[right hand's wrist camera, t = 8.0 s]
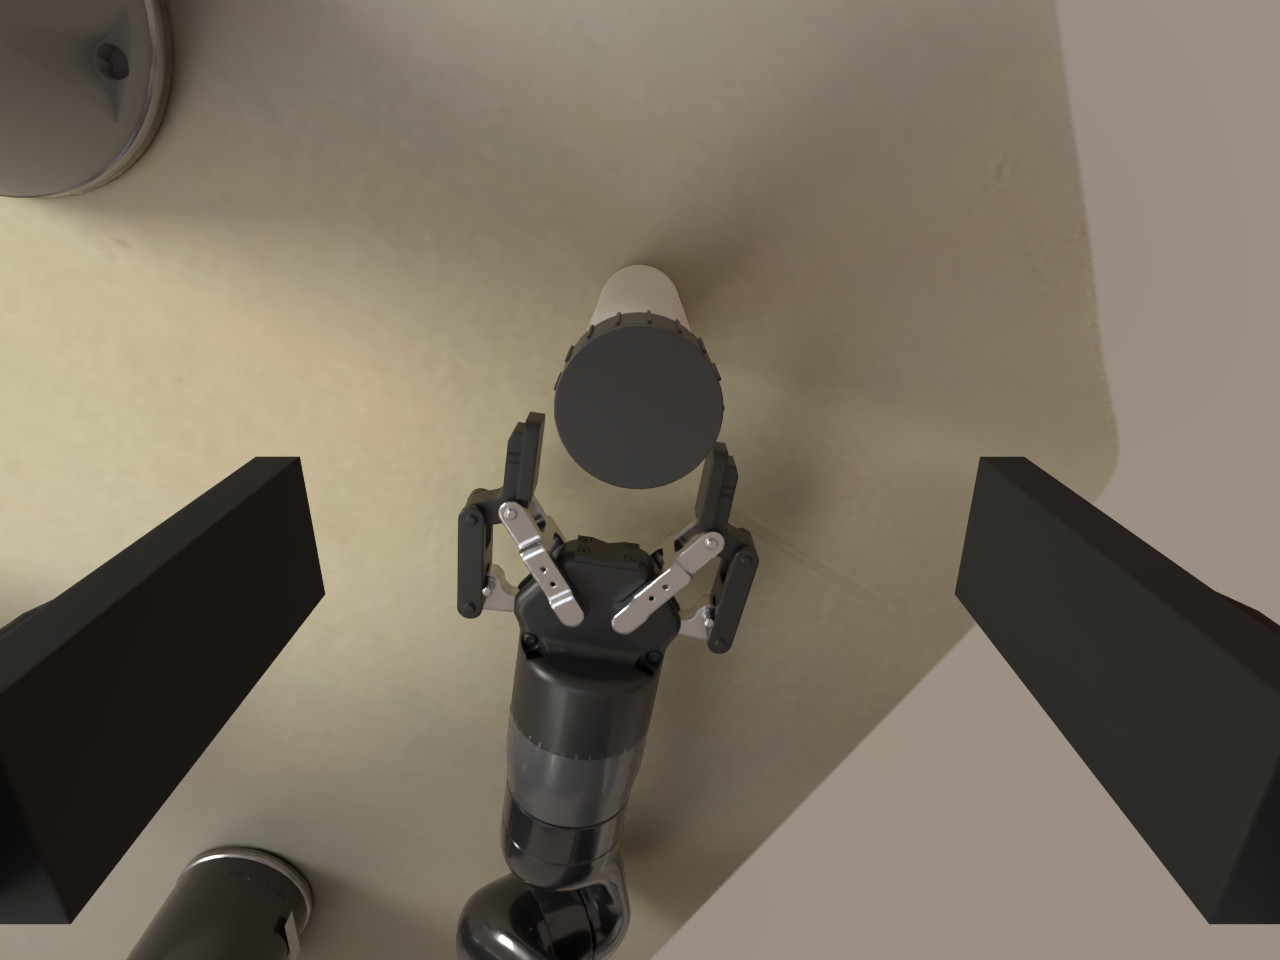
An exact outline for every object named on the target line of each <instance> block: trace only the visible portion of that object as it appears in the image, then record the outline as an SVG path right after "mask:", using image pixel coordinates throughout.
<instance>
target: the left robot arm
mask: <svg viewBox="0 0 1280 960" xmlns="http://www.w3.org/2000/svg"><path fill="white" fill-rule="evenodd" d="M544 424H545V414H543V413H536V412H530V413H529V416H528V418H527V420H526V423H522V422H518V424H517V425H516V427H515V429H514V431H513V432H512V434H511V436H510V438H509V440H508V447H507V457H506V466H505V476H504V486H503V487H501V488H499V489H495V490H489V491H488V490H486V489H483V488H479V489H475V490H474V491H472V493H471V494H470V496H469V498H468V502H467V504H466V505H465V507H464V508H463V509H462V511H461V513H460V514H459V518H458V593H457V609H458V612H459V613H460V614H461V615H462V616H463V617H465V618H470V619H472V618H476V617H478V616H479V615H480V614H481V612H482V609H487V610H498V611H509V612H514V614H515V616H516V618H517V620H518V622H519V626H520V637H519V645H518V653H517V661H516V670H515V678H514V686H513V694H512V702H511V706H510V719H509V727H508V735H507V765H508V771H507V782H506V790H505V798H504V806H503V812H502V821H501V848H502V852H503V856H504V859H505V861H506V863H507V865H508V867H509V868H510V870H511V871H512V873H510V874H508V875H505V876H503V877H501V878H499V879H497V880H495V881H493V882H491V883H489V884H487V885H485V886H483V887H482V888H481V889H479V890H478V891H476V892H475V893H474V894H473V895H472V896H471V897H470V898H469V899H468V901H467V902H466V904H465V906H464V908H463V910H462V912H461V914H460V918H459V921H458V925H457V934H456V949H457V955H458V960H607V959H608V958H609V957H610V956H611V955H612V954H613V953H614V952H615V951H616V950H617V948H618V947H619V945H620V944H621V942H622V940H623V938H624V936H625V934H626V932H627V929H628V926H629V922H630V903H629V897H628V892H627V886H626V881H625V873H624V862H623V853H622V845H621V833H622V829H623V824H624V819H625V814H626V809H627V804H628V800H629V795H630V792H631V788H632V785H633V783H634V780H635V778H636V776H637V773H638V770H639V768H640V764H641V760H642V756H643V752H644V747H645V742H646V738H647V733H648V729H649V724H650V719H651V714H652V709H653V705H654V700H655V696H656V691H657V686H658V681H659V677H660V672H661V667H662V663H663V658H664V654H665V651H666V648H667V647H668V645H669V644H670V642H671V641H672V640H673V639H674V638H675V637H676V636H677V635H681V636H686V637H691V638H696V639H702V640H707V642H708V647H709V649H710V650H711V651H712V652H714V653H717V654H722V653H725V652H727V651H728V650H729V649H730V648H731V646H732V643H733V640H734V637H735V634H736V630H737V627H738V624H739V621H740V618H741V615H742V612H743V609H744V606H745V603H746V600H747V597H748V594H749V591H750V588H751V585H752V582H753V579H754V575H755V572H756V569H757V566H758V563H759V558H758V555H757V552H756V549H755V546H754V542H753V539H752V536H751V534H750V532H749V531H748V530H746V529H744V528H736V527H734V526H732V525H730V524H729V523H728V519H729V514H730V510H731V506H732V501H733V496H734V493H735V488H736V484H737V480H738V474H737V469H736V465H735V462H734V459H733V456H728V451H727V448H726V445H725V443H722V442H715V444H714V446H713V448H712V449H711V451H710V452H709V454H708V455H707V456H706V458H705V463H704V468H703V473H702V477H701V482H700V487H699V491H698V496H697V501H696V506H695V511H696V517H695V518H694V519H693V520H692V521H691V522H689V523H688V524H687V525H686V526H685V527H683V528H682V529H681V530H680V531H679V532H677V533H676V534H670V535H668V536H667V537H666V538H665V539H663V540H662V541H661V542H660V543H659V544H657V545H656V546H655V547H654V548H653V549H651V550H650V551H649V552H648V553H647V552H645V551H644V550H642V549H639V544H634V543H627V542H620V543H606V542H603V541H601V540H598V539H596V538H593V537H586V536H580V535H578V539H576V540H571V541H568V542H567V541H566V539H565V538H564V536H563V534H562V533H561V531H560V530H559V528H558V526H557V525H556V523H555V522H554V520H553V519H552V518H551V517H550V516H548V515H546V513H545V512H544V510H543V509H542V507H541V506H540V504H539V502H538V501H537V499H536V498H535V496H534V491H535V488H536V486H537V481H538V473H539V465H540V457H541V449H542V441H543V432H544ZM499 523H503V524H504V526H505V527H506V529H507V530H508V532H509V533H510V535H511V537H512V538H513V540H514V541H515V543H516V544H517V546H518V548H519V551H520V556H521V558H522V560H523V562H524V564H525V565H526V567H527V568H528V570H529V571H530V574H529V575H528V576H527V577H526V578H525V579H524V580H523V581H522V582H521V583H520V584H519V586H518V587H514V586H512V585H510V584H509V583H508V582H507V581H506V579H505V574H504V571H503V570H502V569H501V568H500V567H499V566H498V565H496V564H494V565H492V544H493V524H499ZM716 555H718V556H720V557H722V558H721V562H720V565H719V568H718V571H717V575H716V578H715V581H714V585H713V588H712V591H711V594H710V596H708V595H703V596H702V597H701V598H699V599H698V600H697V601H696V603H695V605H694V606H693V607H692V608H691V609H689V610H685V611H682V610H680V608H679V605H678V603H677V601H676V599H675V597H674V595H675V594H676V593H677V592H679V591H680V590H681V589H682V588H684V587H685V586H686V585H687V584H688V583H689V582H690V581H691V579H692V577H693V575H694V573H695V572H696V571H697V570H699V569H700V568H701V567H702V566H704V565H705V564H706V563H707V562H709V561H710V560H711V559H712V558H714V557H715V556H716ZM312 908H313V898H312V894H311V891H310V888H309V886H308V884H307V883H306V881H305V880H304V878H303V877H302V876H301V875H300V874H299V873H298V872H297V871H296V870H295V869H294V868H293V867H291V866H290V865H289V864H287V863H286V862H284V861H282V860H281V859H279V858H277V857H275V856H272V855H270V854H267V853H264V852H261V851H258V850H253V849H248V848H236V847H231V848H220V849H215V850H211V851H208V852H206V853H203V854H201V855H199V856H198V857H196V858H194V859H193V860H192V861H191V862H190V863H189V864H188V865H187V866H186V868H185V869H184V871H183V872H182V874H181V875H180V877H179V878H178V880H177V883H176V886H175V887H174V889H173V890H172V892H171V893H170V895H169V896H168V898H167V899H166V901H165V902H164V904H163V905H162V907H161V908H160V910H159V911H158V913H157V914H156V915H155V917H154V918H153V920H152V921H151V923H150V924H149V926H148V927H147V929H146V930H145V932H144V933H143V935H142V936H141V938H140V939H139V941H138V942H137V944H136V945H135V947H134V948H133V950H132V951H131V953H130V954H129V956H128V957H127V959H126V960H289V958H290V956H291V957H292V960H296V959H297V957H298V954H299V952H300V946H299V941H298V938H299V936H300V934H301V932H302V931H303V929H304V928H305V926H306V924H307V922H308V919H309V917H310V915H311V912H312Z"/></svg>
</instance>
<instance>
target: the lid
mask: <svg viewBox="0 0 1280 960" xmlns="http://www.w3.org/2000/svg"><path fill="white" fill-rule="evenodd" d="M565 361H566V364H565V367H564V369H563V372H561V373H560V375H559V377H558V380H557V382H556V384H555V387H554V390H556V392H555V400H554V415H555V417H554V418H555V422H556V427H557V430H558V434H559V436H560V438H561V441H562V443H563V445H564V446H565V448H566V450H567V451H568V453H569V454H570V456H571V457H572V458H573V459H574V461H575V462H576V463H577V464H578V465H579V466H580V467H582V468H583V469H584V470H585V471H587V472H588V473H589V474H591V475H592V476H594V477H596V478H597V479H599V480H601V481H604V482H606V483H608V484H611V485H615V486H618V487H623V488H629V489H647V488H655V487H659V486H663V485H666V484H669V483H672V482H674V481H676V480H678V479H680V478H682V477H684V476H685V475H687V474H688V473H690V472H691V471H692V470H694V469H695V468H696V467H697V466H698V465H699V464H700V463H701V462H702V461H703V460H704V459H705V458H706V456H707V455H708V454H709V452H710V451H711V449H712V448H713V446H714V444H715V442H716V440H717V437H718V435H719V432H720V429H721V424H722V420H723V411H724V405H723V396H722V390H721V386H720V383H719V381H720V380H721V377H720V375H719V372H718V370H717V368H716V365H715V363H712V362H711V360H710V358H709V356H708V354H707V351H706V349H705V346H704V344H703V341H702V339H701V338H698V339H697V338H696V337H695V336H694V334H693V333H691V332H690V331H689V330H688V329H687V328H685V327H684V326H682V325H681V324H680V321H679V320H678V319H676V320H675V321H674V320H672V319H670V318H667V317H664V316H661V315H658V314H653V313H651V310H647V312H633V313H624V314H621V312H617V315H616V316H613V317H611V318H608V319H606V320H604V321H602V322H600V323H598V324H597V325H595V326H594V325H593V324H592V325H591V326H590V327H589V330H588V331H587V332H586V333H585V334H584V335H583V336H582V337H581V338H580V340H579V341H578V342H577V343H576V345H575V346H571V347H570V349H569V352H568V354H567V356H566V359H565Z"/></svg>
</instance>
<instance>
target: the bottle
mask: <svg viewBox="0 0 1280 960" xmlns="http://www.w3.org/2000/svg"><path fill="white" fill-rule="evenodd" d="M647 310H651V313H653V314H658V315H661V316H664V317H667V318H670V319H672V320H674V321H675V320H676V319H678V320H679V321H680V324H681V325H682V326H684V327H685V328H687V329H688V330H689V331H690V332H691V329H690V326H689V324H688V321H687V318H686V315H685V312H684V309H683V307H682V304H681V301H680V298H679V295H678V292H677V290H676V288H675V286H674V284H673V282H672V281H671V280H670V279H669V277H668V276H667V275H665V274H664V273H663V272H661V271H660V270H658V269H656V268H654V267H651V266H647V265H631V266H627V267H625V268H622V269H620V270H619V271H617V272H616V273H614V274H613V275H612V276H611V277H610V278H609V279H608V280H607V282H606V283H605V285H604V287H603V289H602V291H601V294H600V296H599V299H598V302H597V305H596V307H595V310H594V313H593V316H592V318H591V321H590V324H589V327H590V326H591V325H592V324H593V325H594V326H595V325H597V324H598V323H600V322H602V321H604V320H606V319H608V318H611V317H613V316H616V315H617V312H621V314H624V313H633V312H647ZM589 327H588V329H587V331H588V330H589ZM691 333H692V332H691Z"/></svg>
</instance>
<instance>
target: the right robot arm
mask: <svg viewBox="0 0 1280 960" xmlns="http://www.w3.org/2000/svg"><path fill="white" fill-rule="evenodd" d="M171 78H172V39H171V31H170V23H169V18H168V13H167V8H166V3H165V0H0V196H6V197H15V198H38V197H61V196H70V195H75V194H79V193H84V192H87V191H90V190H93V189H95V188H98V187H100V186H102V185H104V184H106V183H108V182H110V181H112V180H113V179H115V178H116V177H118V176H119V175H121V174H122V173H124V172H125V171H126V170H127V169H128V168H129V167H130V166H132V165H133V164H134V163H135V162H136V160H137V159H138V158H139V157H140V156H141V155H142V154H143V152H144V151H145V150H146V148H147V147H148V145H149V144H150V142H151V141H152V139H153V137H154V135H155V133H156V131H157V129H158V128H159V125H160V123H161V120H162V117H163V115H164V112H165V108H166V105H167V101H168V97H169V91H170V85H171ZM324 595H325V590H324V585H323V580H322V574H321V569H320V563H319V558H318V552H317V547H316V542H315V536H314V531H313V525H312V520H311V515H310V509H309V504H308V498H307V493H306V488H305V482H304V477H303V471H302V466H301V461H300V457H255V458H253V459H252V460H251V461H249V462H248V463H246V464H245V465H244V466H242V467H241V468H239V469H238V470H236V471H235V472H234V473H232V474H231V475H229V476H228V477H227V478H225V479H224V480H222V481H221V482H219V483H218V484H217V485H215V486H214V487H212V488H211V489H209V490H208V491H207V492H205V493H204V494H202V495H201V496H200V497H198V498H197V499H195V500H194V501H192V502H191V503H190V504H188V505H187V506H185V507H184V508H183V509H181V510H180V511H178V512H177V513H175V514H174V515H173V516H171V517H170V518H168V519H167V520H165V521H164V522H163V523H161V524H160V525H158V526H157V527H156V528H154V529H153V530H151V531H150V532H148V533H147V534H146V535H144V536H143V537H141V538H140V539H139V540H137V541H136V542H134V543H133V544H131V545H130V546H129V547H127V548H126V549H124V550H123V551H121V552H120V553H119V554H117V555H116V556H114V557H113V558H112V559H110V560H109V561H107V562H106V563H104V564H103V565H102V566H100V567H99V568H97V569H96V570H95V571H93V572H92V573H90V574H89V575H87V576H86V577H85V578H83V579H82V580H80V581H79V582H77V583H76V584H75V585H73V586H72V587H70V588H69V589H68V590H66V591H65V592H63V593H62V594H60V595H59V596H58V597H56V598H55V599H53V600H51V601H49V602H47V603H45V604H43V605H40V606H38V607H36V608H34V609H32V610H30V611H27V612H25V613H23V614H22V615H20V616H19V617H17V618H16V619H14V620H13V621H11V622H10V623H9V624H7V625H6V626H4V627H3V628H1V629H0V924H71V923H72V922H73V920H74V919H75V918H76V917H77V915H78V914H79V913H80V911H81V910H82V909H83V907H84V906H85V905H86V904H87V902H88V901H89V900H90V898H91V897H92V896H93V895H94V893H95V892H96V891H97V889H98V888H99V887H100V885H101V884H102V883H103V882H104V880H105V879H106V878H107V876H108V875H109V874H110V872H111V871H112V870H113V869H114V867H115V866H116V865H117V863H118V862H119V861H120V860H121V858H122V857H123V856H124V854H125V853H126V852H127V850H128V849H129V848H130V847H131V845H132V844H133V843H134V841H135V840H136V839H137V837H138V836H139V835H140V834H141V832H142V831H143V830H144V828H145V827H146V826H147V825H148V823H149V822H150V821H151V819H152V818H153V817H154V815H155V814H156V813H157V812H158V810H159V809H160V808H161V806H162V805H163V804H164V802H165V801H166V800H167V799H168V797H169V796H170V795H171V793H172V792H173V791H174V790H175V788H176V787H177V786H178V784H179V783H180V782H181V780H182V779H183V778H184V777H185V775H186V774H187V773H188V771H189V770H190V769H191V767H192V766H193V765H194V764H195V762H196V761H197V760H198V758H199V757H200V756H201V755H202V753H203V752H204V751H205V749H206V748H207V747H208V745H209V744H210V743H211V742H212V740H213V739H214V738H215V736H216V735H217V734H218V732H219V731H220V730H221V729H222V727H223V726H224V725H225V723H226V722H227V721H228V720H229V718H230V717H231V716H232V714H233V713H234V712H235V710H236V709H237V708H238V707H239V705H240V704H241V703H242V701H243V700H244V699H245V698H246V696H247V695H248V694H249V692H250V691H251V690H252V688H253V687H254V686H255V685H256V683H257V682H258V681H259V679H260V678H261V677H262V675H263V674H264V673H265V672H266V670H267V669H268V668H269V666H270V665H271V664H272V663H273V661H274V660H275V659H276V657H277V656H278V655H279V653H280V652H281V651H282V650H283V648H284V647H285V646H286V644H287V643H288V642H289V640H290V639H291V638H292V637H293V635H294V634H295V633H296V631H297V630H298V629H299V628H300V626H301V625H302V624H303V622H304V621H305V620H306V618H307V617H308V616H309V615H310V613H311V612H312V611H313V609H314V608H315V607H316V605H317V604H318V603H319V602H320V600H321V599H322V598H323V596H324ZM955 595H956V596H957V598H958V599H959V600H960V602H961V603H962V604H963V605H964V607H965V608H966V609H967V611H968V612H969V613H970V615H971V616H972V617H973V618H974V620H975V621H976V622H977V624H978V625H979V626H980V627H981V629H982V630H983V631H984V633H985V634H986V635H987V637H988V638H989V639H990V640H991V642H992V643H993V644H994V646H995V647H996V648H997V650H998V651H999V652H1000V653H1001V655H1002V656H1003V657H1004V659H1005V660H1006V661H1007V663H1008V664H1009V665H1010V666H1011V668H1012V669H1013V670H1014V672H1015V673H1016V674H1017V675H1018V677H1019V678H1020V679H1021V681H1022V682H1023V683H1024V685H1025V686H1026V687H1027V688H1028V690H1029V691H1030V692H1031V694H1032V695H1033V696H1034V698H1035V699H1036V700H1037V701H1038V703H1039V704H1040V705H1041V707H1042V708H1043V709H1044V710H1045V712H1046V713H1047V714H1048V716H1049V717H1050V718H1051V720H1052V721H1053V722H1054V723H1055V725H1056V726H1057V727H1058V729H1059V730H1060V731H1061V732H1062V734H1063V735H1064V736H1065V738H1066V739H1067V740H1068V741H1069V743H1070V744H1071V745H1072V747H1073V748H1074V749H1075V751H1076V752H1077V753H1078V755H1079V756H1080V757H1081V758H1082V760H1083V761H1084V762H1085V763H1086V765H1087V766H1088V767H1089V769H1090V770H1091V771H1092V773H1093V774H1094V775H1095V777H1096V778H1097V779H1098V780H1099V782H1100V783H1101V784H1102V786H1103V787H1104V788H1105V790H1106V791H1107V792H1108V793H1109V795H1110V796H1111V797H1112V799H1113V800H1114V801H1115V803H1116V804H1117V805H1118V806H1119V808H1120V809H1121V810H1122V812H1123V813H1124V814H1125V815H1126V817H1127V818H1128V819H1129V821H1130V822H1131V823H1132V825H1133V826H1134V827H1135V828H1136V830H1137V831H1138V832H1139V834H1140V835H1141V836H1142V837H1143V839H1144V840H1145V841H1146V843H1147V844H1148V845H1149V847H1150V848H1151V849H1152V850H1153V852H1154V853H1155V854H1156V856H1157V857H1158V858H1159V860H1160V861H1161V862H1162V863H1163V865H1164V866H1165V867H1166V869H1167V870H1168V871H1169V872H1170V874H1171V875H1172V876H1173V878H1174V879H1175V880H1176V882H1177V883H1178V884H1179V885H1180V887H1181V888H1182V889H1183V891H1184V892H1185V893H1186V895H1187V896H1188V897H1189V898H1190V900H1191V901H1192V902H1193V904H1194V905H1195V906H1196V907H1197V909H1198V910H1199V911H1200V913H1201V914H1202V915H1203V917H1204V918H1205V919H1206V920H1207V922H1208V923H1209V924H1280V626H1279V625H1278V624H1277V623H1275V622H1274V621H1272V620H1271V619H1269V618H1268V617H1266V616H1265V615H1264V614H1262V613H1261V612H1259V611H1257V610H1255V609H1253V608H1251V607H1249V606H1246V605H1244V604H1242V603H1240V602H1238V601H1235V600H1233V599H1231V598H1229V597H1227V596H1224V595H1222V594H1220V593H1218V592H1216V591H1214V590H1212V589H1211V588H1210V587H1208V586H1207V585H1205V584H1204V583H1202V582H1201V581H1200V580H1198V579H1197V578H1195V577H1194V576H1193V575H1191V574H1190V573H1188V572H1187V571H1185V570H1184V569H1183V568H1181V567H1180V566H1178V565H1177V564H1176V563H1174V562H1173V561H1171V560H1170V559H1168V558H1167V557H1166V556H1164V555H1163V554H1161V553H1160V552H1158V551H1157V550H1156V549H1154V548H1153V547H1151V546H1150V545H1149V544H1147V543H1146V542H1144V541H1143V540H1141V539H1140V538H1139V537H1137V536H1136V535H1134V534H1133V533H1132V532H1130V531H1129V530H1127V529H1126V528H1124V527H1123V526H1122V525H1120V524H1119V523H1117V522H1116V521H1115V520H1113V519H1112V518H1110V517H1109V516H1107V515H1106V514H1105V513H1103V512H1102V511H1100V510H1099V509H1097V508H1096V507H1095V506H1093V505H1092V504H1090V503H1089V502H1088V501H1086V500H1085V499H1083V498H1082V497H1080V496H1079V495H1078V494H1076V493H1075V492H1073V491H1072V490H1071V489H1069V488H1068V487H1066V486H1065V485H1063V484H1062V483H1061V482H1059V481H1058V480H1056V479H1055V478H1053V477H1052V476H1051V475H1049V474H1048V473H1046V472H1045V471H1044V470H1042V469H1041V468H1039V467H1038V466H1036V465H1035V464H1034V463H1032V462H1031V461H1029V460H1028V459H1027V458H1025V457H980V461H979V466H978V471H977V477H976V482H975V488H974V493H973V498H972V504H971V509H970V515H969V520H968V525H967V531H966V536H965V542H964V547H963V552H962V558H961V563H960V569H959V574H958V579H957V585H956V590H955Z"/></svg>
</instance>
